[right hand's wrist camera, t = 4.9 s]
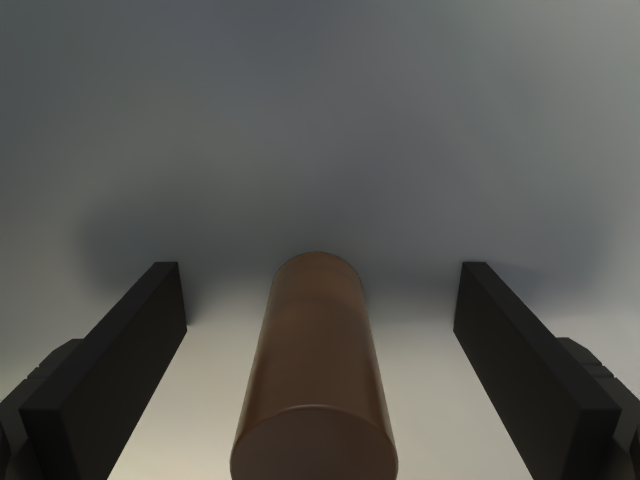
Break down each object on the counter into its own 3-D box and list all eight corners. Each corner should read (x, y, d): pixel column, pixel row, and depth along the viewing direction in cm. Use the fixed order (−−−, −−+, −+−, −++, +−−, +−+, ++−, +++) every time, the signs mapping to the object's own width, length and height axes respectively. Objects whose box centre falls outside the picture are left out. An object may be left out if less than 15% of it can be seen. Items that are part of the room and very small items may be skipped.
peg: (273, 332, 15) (235, 530, 8) (269, 251, 13) (221, 406, 7) (360, 332, 15) (393, 530, 8) (364, 251, 13) (405, 406, 7)
